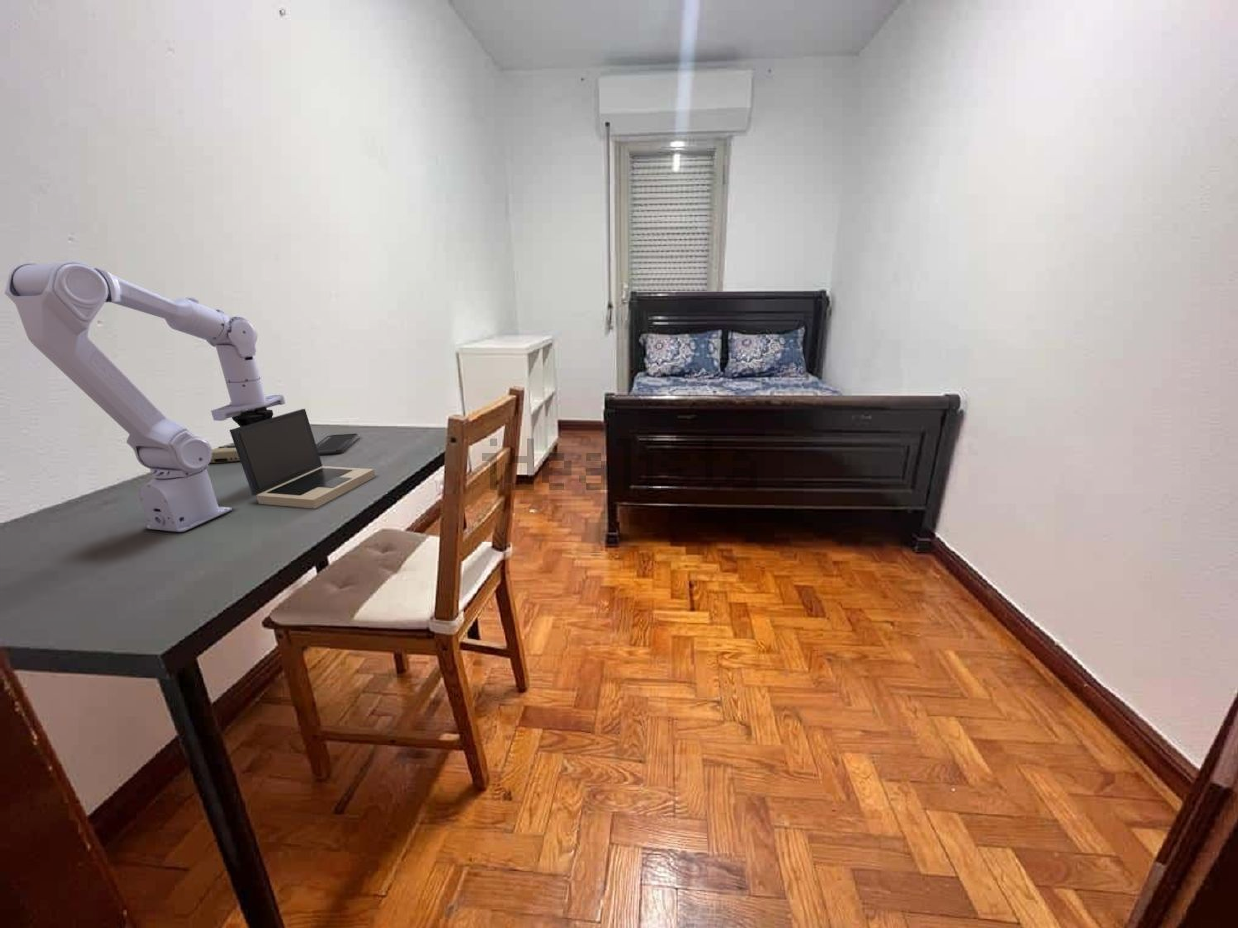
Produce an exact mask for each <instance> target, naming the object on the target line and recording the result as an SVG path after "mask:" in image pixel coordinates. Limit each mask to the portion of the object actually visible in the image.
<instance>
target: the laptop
mask: <svg viewBox="0 0 1238 928" xmlns="http://www.w3.org/2000/svg"><path fill="white" fill-rule="evenodd" d="M374 478H376V473H375V469H374V468H362V467H360V468H359V467H343V466H329V465H322V466H321V467H319V468H317V469H314V470H312V471H310V472H308V473H305V474H303V475H301V476H298V477H296V478H294V479H292V480H289V481H287V482H285V483H282V484H280V485H278V486H276V487H273V488H271V489H269V490H266V491H264V492H262V493H260V494H257V495H255V496H256V499H257V503H258V504H259V505H266V506H267V505H268V506H279V507H280V506H281V507H291V508H292V507H293V508H305V509H315V510H316V509H317V508H319V507H321V506H323V505H325V504H327V503H329V502H330V501H332V500H334V499H336V498H339V497H340V496H342V495H344V494H346V493H348V492H349V491H351V490H353V489H355V488H357V487H360V486H361V485H363V484H365V483H366V482H368V481H370V480H373V479H374Z"/></svg>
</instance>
